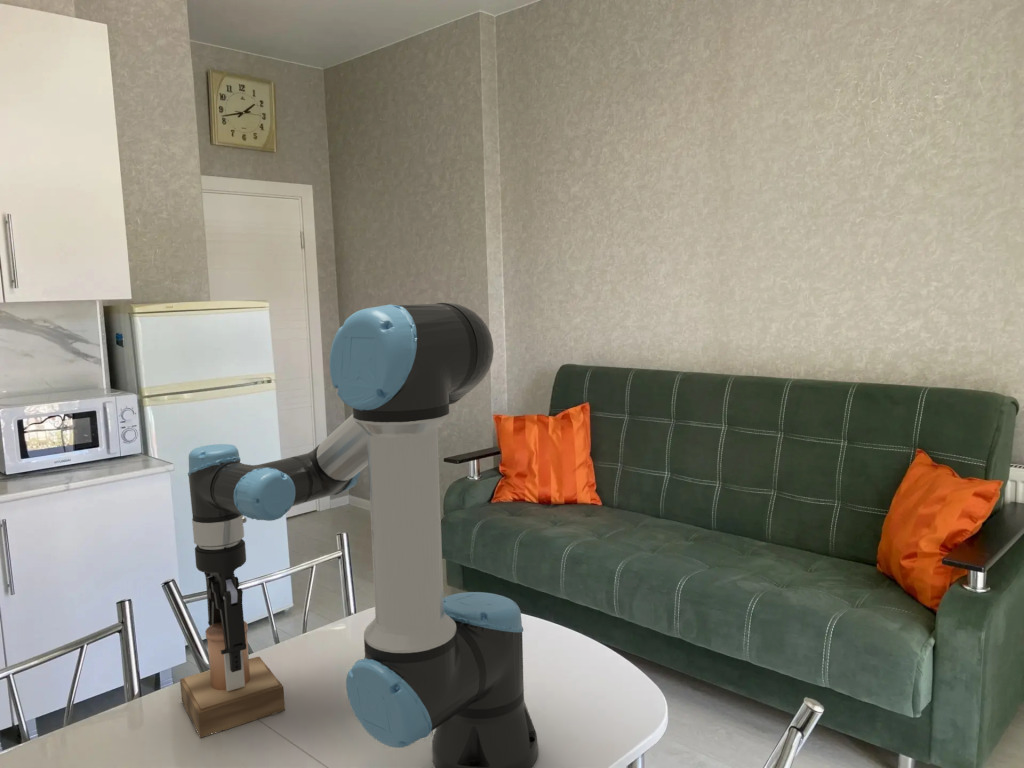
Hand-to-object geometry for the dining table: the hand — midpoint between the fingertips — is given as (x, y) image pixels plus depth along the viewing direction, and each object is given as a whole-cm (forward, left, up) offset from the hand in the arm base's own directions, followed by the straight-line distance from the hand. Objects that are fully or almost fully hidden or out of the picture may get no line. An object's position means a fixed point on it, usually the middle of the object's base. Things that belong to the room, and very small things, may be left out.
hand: (229, 679), depth 126 cm
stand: (0, 0, -5) cm, 5 cm away
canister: (0, 0, 0) cm, 0 cm away
